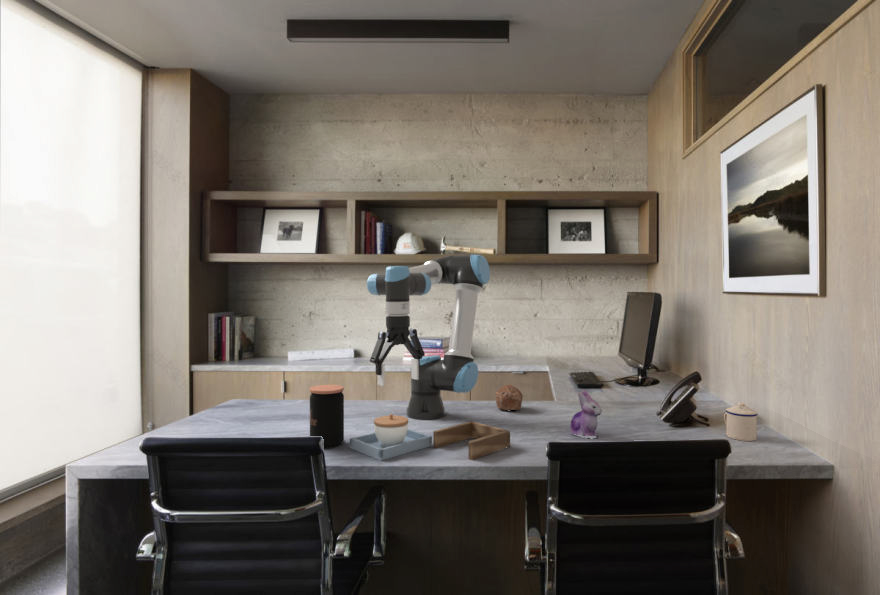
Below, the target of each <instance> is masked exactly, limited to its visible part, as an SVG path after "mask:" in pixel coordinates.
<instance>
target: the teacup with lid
mask: <svg viewBox="0 0 880 595" xmlns="http://www.w3.org/2000/svg"><path fill="white" fill-rule="evenodd" d="M723 420H724V423H725V425H726V429H725V430H726V436H727V438H729V439H733V440H736V441H741V442H743V441H744V442H754V441H756V440H757V435H758V434H757V432H758V429H757V426H758V425H757V424H758V423H757V422H758V421H757V420H758V412H757V410H754V409H753V408H751V407H749V406H746V403H745V402H741V401H739V402H738V403H737V405H734V406H730V407H726V409H725V413H724V414H723Z"/></svg>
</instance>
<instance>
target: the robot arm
mask: <svg viewBox="0 0 880 595" xmlns="http://www.w3.org/2000/svg"><path fill="white" fill-rule="evenodd" d="M490 271H491V270H490V265H489V262H488V260H487V258H486V257H485V256H483V255H481V254H472V253H471V254H464V255H463V254H461V255H460V254H459V255H458V254H457V255H446V256H443V257H439V258H435V259H432V260H428V261H426V262H424V263H423V264H421V265H416V266H412V267H408V266H405V265H403V266H402V265H394V266H393V265H392V266H391V265H389V266H386V268H385V272H384V273H378V272H377V273H371V274H370V275H369V276H368V278H367V282H366V286H367V288H366V289H367V291H368V292H369V293H370V294H371V295H374V296H380V297H381V296H385V314H386V316H385V327H386V329H387V330H386V331H378V334H377V339H376V340H377V341H376V343H375V346H374V348H373V351H372V353H371V355H370V358H369V362H370V363H372V364H374V365H375V375H376V376H377V386H382V387H385V386H386V380H385V378H386V374H385V368H386V365H385V364H383V363H384V361H385V360H386V358H387V356H388V355H389V354H390V352H391V350H392V348H393V347H394V346H400V345H404V347H405V348H406V350H407V351H408V352H409V354H410V355H411V356H412V358H411V359H410V360H411V361H410V362H411V364H410V398H409V401H408V404H407V405H408V406H407V407H406V416H407V418H408V417H409V418H412V419H416V420H434V419H440V418H443V417H444V416H446V409H445V406H444V402H443V398H442V395H441V391H444V392H454V393H457V394H459V393H463V394H466V393H469V392H471V391H472V390H473V389H474V388H475V386H476V384H477V381H478V378H479V367H478V364H477V363H476V362H474V361H475V358H474V356H473V355H472V346H473V336H474V329H475V321H476V314H477V313H476V312H477V306H478V296H479V293H481V292H482V291H483V288H484V285H486V284H488V283H489V282H490V277H491V272H490ZM436 284H437V285H438V284H439V285H440V284H443V285H445V284H446V285H452V286H453V288H454V289H455V291H456V292H455V300H454V307H453V313H452V320H451V322H452V323H451V328H450V329H451V330H450V336H449V338H450V339H449V344H448V351H446V352H445V353H444V354H443V359H442V357H441V355H437V354H435V355H426V354H425V351H424V349H423V346H422V344H421V341H420V339H419V336H418V330H417V329H416V328H410V327H411V316H409V314H410V312H411V310H410V305H411V304H410V303H411V302H410V296H414V297H415V296H419V297H420V296H424V295H427V294H428V293H429V292H430V290H431V289H432V285H436Z"/></svg>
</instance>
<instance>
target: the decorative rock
mask: <svg viewBox="0 0 880 595" xmlns="http://www.w3.org/2000/svg"><path fill="white" fill-rule="evenodd" d="M523 395H524V394H523V393H522V392H521V390H519V388H517V387H515V386H514V385H511V384H510V383H509V384H505V385H503V386H502V387H500V388H499V389H498V390H497V391H496V392H495V396H496V397H495V403H496V407H497V408H499V409H498V410H501V409H503V410H502V411H505V410H516V411H519V410H521V408H522V403H523V397H524V396H523Z"/></svg>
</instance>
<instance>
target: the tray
mask: <svg viewBox="0 0 880 595" xmlns="http://www.w3.org/2000/svg"><path fill="white" fill-rule="evenodd" d="M432 446H433V437H432V435H429V434H425V433H423V432H419V431H416V430H413V429H410V428H408V431H407V435H406V438H405V439H404V441H403V442H402V443H401V444H397V445H393V446H390V447H384V446H382V445H381V443H380V442H379V441H378V440H377V438H376V435H375V431H374V432H371V433H366V434H362V435H358V436H354V437H350V438H349V449H352V450H353V451H357V452H359V453H361V454H364V455H367V456H369V457H372V458H374V459H375V460H379V461H385V460H388V459H391V458H395V457H398V456H402V455H405V454H409V453H411V452H415V451H418V450H422V449H425V448H429V447H432Z"/></svg>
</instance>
